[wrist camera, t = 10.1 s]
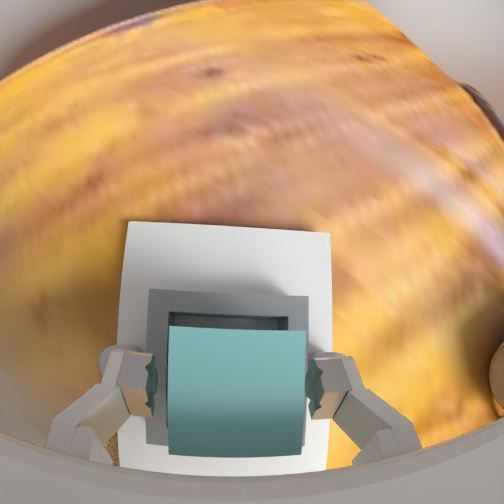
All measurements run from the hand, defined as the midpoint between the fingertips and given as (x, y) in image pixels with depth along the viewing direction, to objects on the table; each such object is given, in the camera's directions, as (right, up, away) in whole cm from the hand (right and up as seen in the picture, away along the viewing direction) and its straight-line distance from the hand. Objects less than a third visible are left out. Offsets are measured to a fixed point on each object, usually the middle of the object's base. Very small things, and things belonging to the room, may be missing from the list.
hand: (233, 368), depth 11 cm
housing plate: (-1, -2, +7) cm, 7 cm away
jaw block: (-1, -2, +5) cm, 6 cm away
